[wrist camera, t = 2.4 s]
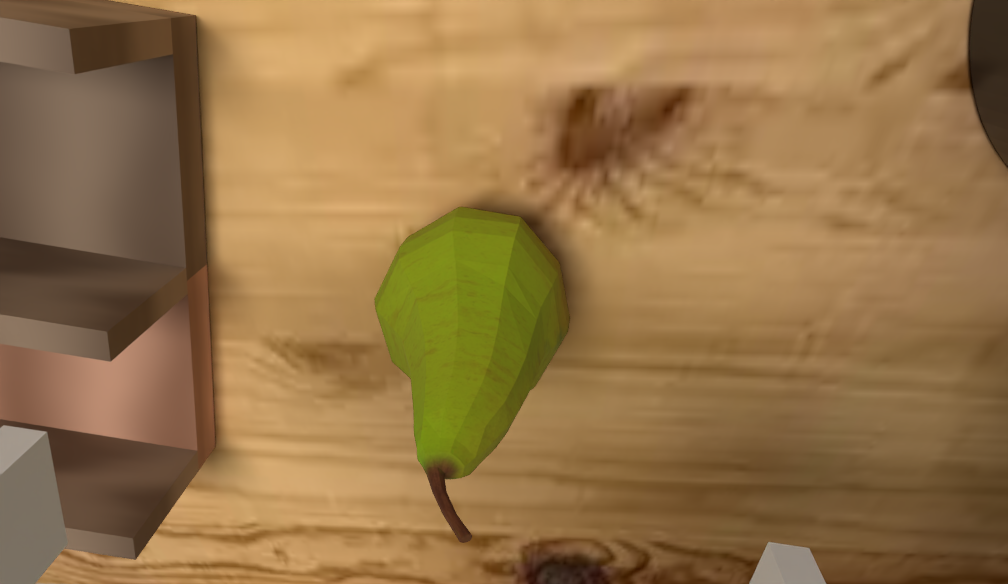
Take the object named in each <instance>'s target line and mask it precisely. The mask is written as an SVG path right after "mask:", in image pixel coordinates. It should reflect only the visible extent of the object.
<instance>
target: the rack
mask: <svg viewBox="0 0 1008 584" xmlns="http://www.w3.org/2000/svg"><path fill="white" fill-rule="evenodd" d="M3 425H5V426H12V427H19V428H25V429H32V430H38V431H45V432H47V434H48V439H49V444H50V450H51V455H52V461H53V466H54V471H55V477H56V482H57V487H58V493H59V498H60V504H61V509H62V514H63V520H64V525H65V530H66V536H67V541H68V544H67V545H66V547H65V549H71V550H77V551H84V552H90V553H96V554H103V555H109V556H115V557H122V558H128V559H134V560H136V558H137V557H138V556H139V554H140V553H141V551H142V550H143V549H144V547H145V546H146V544H147V543H148V541H149V540H150V539H151V537H152V536H153V534H154V533H155V532H156V530H157V529H158V527H159V526H160V524H161V523H162V522H163V520H164V519H165V517H166V516H167V514H168V513H169V512H170V510H171V509H172V507H173V506H174V505H175V503H176V502H177V500H178V499H179V497H180V496H181V495H182V493H183V492H184V490H185V489H186V488H187V486H188V485H189V483H190V482H191V480H192V479H193V478H194V476H195V475H196V473H197V472H198V470H199V469H200V468H201V466H202V465H203V463H204V462H205V461H206V459H207V458H208V456H209V455H210V453H211V452H212V451H213V449H214V448H215V424H214V403H213V381H212V359H211V338H210V316H209V294H208V273H207V251H206V230H205V208H204V186H203V165H202V143H201V121H200V100H199V78H198V57H197V35H196V15H190V14H184V13H179V12H173V11H167V10H161V9H155V8H150V7H144V6H138V5H132V4H126V3H120V2H115V1H109V0H0V428H1V427H2V426H3Z"/></svg>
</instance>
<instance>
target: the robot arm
mask: <svg viewBox="0 0 1008 584" xmlns="http://www.w3.org/2000/svg"><path fill="white" fill-rule="evenodd" d="M970 63H971V75H972V83H973V90H974V94H975V99H976V103H977V107H978V110H979V113H980V116H981V119H982V122H983V125H984V127H985V129H986V132H987V134H988V136H989V138H990V140H991V142H992V143H993V145H994V147H995V149H996V151H997V152H998V154H999V155H1000V156H1001V158H1002V159H1003V161H1004V162H1005V164H1006V165H1007V166H1008V0H975V2H974V7H973V14H972V23H971V35H970ZM67 544H68V541H67V536H66V530H65V525H64V520H63V514H62V509H61V504H60V498H59V493H58V487H57V482H56V477H55V471H54V466H53V461H52V455H51V450H50V444H49V439H48V434H47V432H45V431H38V430H32V429H25V428H19V427H12V426H5V425H3V426H2V427H1V428H0V584H35V583H36V582H37V581H38V579H39V578H40V577H41V576H42V574H43V573H44V572H45V571H46V570H47V568H48V567H49V566H50V565H51V564H52V562H53V561H54V560H55V559H56V558H57V556H58V555H59V554H60V553H61V552H62V550H63V549H64V548H65V547H66V545H67ZM749 584H826V583H825V580H824V578H823V576H822V574H821V572H820V570H819V568H818V566H817V564H816V561H815V559H814V557H813V555H812V553H811V551H810V549H809V548H805V547H799V546H792V545H786V544H779V543H773V542H768V544H767V546H766V548H765V550H764V552H763V555H762V557H761V559H760V561H759V563H758V566H757V568H756V570H755V572H754V574H753V577H752V579H751V581H750V583H749Z"/></svg>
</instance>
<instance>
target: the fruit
mask: <svg viewBox="0 0 1008 584" xmlns="http://www.w3.org/2000/svg"><path fill="white" fill-rule="evenodd" d="M375 309H376V312H377V315H378V319H379V322H380V325H381V328H382V331H383V334H384V337H385V341H386V344H387V347H388V350H389V353H390V356H391V359H392V362H393V363H394V364H395V365H396V366H398V367H399V368H400V369H401V370H402V371H403V372H404V373H405V374H406V375H407V376H408V377H409V378H411V386H412V398H413V409H414V436H415V441H416V446H417V458H418V461H419V462H420V464H421V465H422V466H423V468H424V470H425V472H426V474H427V477H428V480H429V483H430V486H431V489H432V492H433V494H434V496H435V498H436V501H437V503H438V505H439V507H440V509H441V511H442V513H443V515H444V517H445V519H446V520H447V522H448V523H449V525H450V527H451V528H452V530H453V531H454V533H455V535H456V536H457V538H458V540H459V541H460V542H462V543H465V542H468V541H470V540H471V538H472V535H471V534H470V532H469V531H468V529H467V528H466V527H465V525H464V524H463V522H462V521H461V520H460V518H459V517H458V516H457V514H456V512H455V510H454V508H453V505H452V503H451V501H450V499H449V497H448V494H447V492H446V486H445V479H457V478H462V477H465V476H467V475H469V474H471V473H472V472H473V470H474V469H475V468H476V467H477V466H478V465H479V464H480V463H481V462H482V461H483V460H484V459H485V458H486V457H487V456H488V455H489V454H490V453H491V452H492V451H493V450H494V449H495V448H496V447H497V445H498V444H499V443H500V441H501V440H502V439H503V437H504V436H505V435H506V433H507V431H508V429H509V428H510V426H511V424H512V422H513V420H514V419H515V417H516V415H517V413H518V411H519V410H520V408H521V406H522V404H523V402H524V400H525V399H526V397H527V395H528V393H529V391H530V390H531V389H533V388H534V387H535V386H536V384H537V382H538V381H539V379H540V378H541V376H542V374H543V373H544V371H545V369H546V368H547V366H548V364H549V363H550V361H551V359H552V357H553V356H554V354H555V352H556V351H557V349H558V347H559V346H560V344H561V342H562V341H563V339H564V337H565V336H566V334H567V332H568V328H569V321H570V316H569V311H568V305H567V300H566V295H565V290H564V284H563V279H562V274H561V269H560V263H559V262H558V261H557V259H556V258H555V257H554V256H553V255H552V253H551V252H550V251H549V250H548V249H547V248H546V246H545V245H544V244H543V243H542V242H541V240H540V239H539V238H538V237H537V236H536V235H535V233H534V232H533V231H532V230H531V229H530V227H529V226H528V225H527V224H526V223H525V221H524V220H523V219H522V218H521V217H519V216H513V215H507V214H501V213H496V212H490V211H484V210H478V209H472V208H466V207H458V208H457V209H455V210H453V211H451V212H450V213H448V214H446V215H445V216H443V217H441V218H439V219H438V220H436V221H434V222H433V223H431V224H429V225H428V226H426V227H424V228H422V229H421V230H419V231H417V232H416V233H414V234H412V235H411V236H409V237H408V238H407V239H406V240H405V241H404V242H403V244H402V245H401V246H400V248H399V250H398V252H397V254H396V256H395V258H394V260H393V262H392V264H391V266H390V268H389V270H388V272H387V274H386V276H385V278H384V281H383V283H382V285H381V287H380V289H379V291H378V293H377V295H376V297H375Z"/></svg>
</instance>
